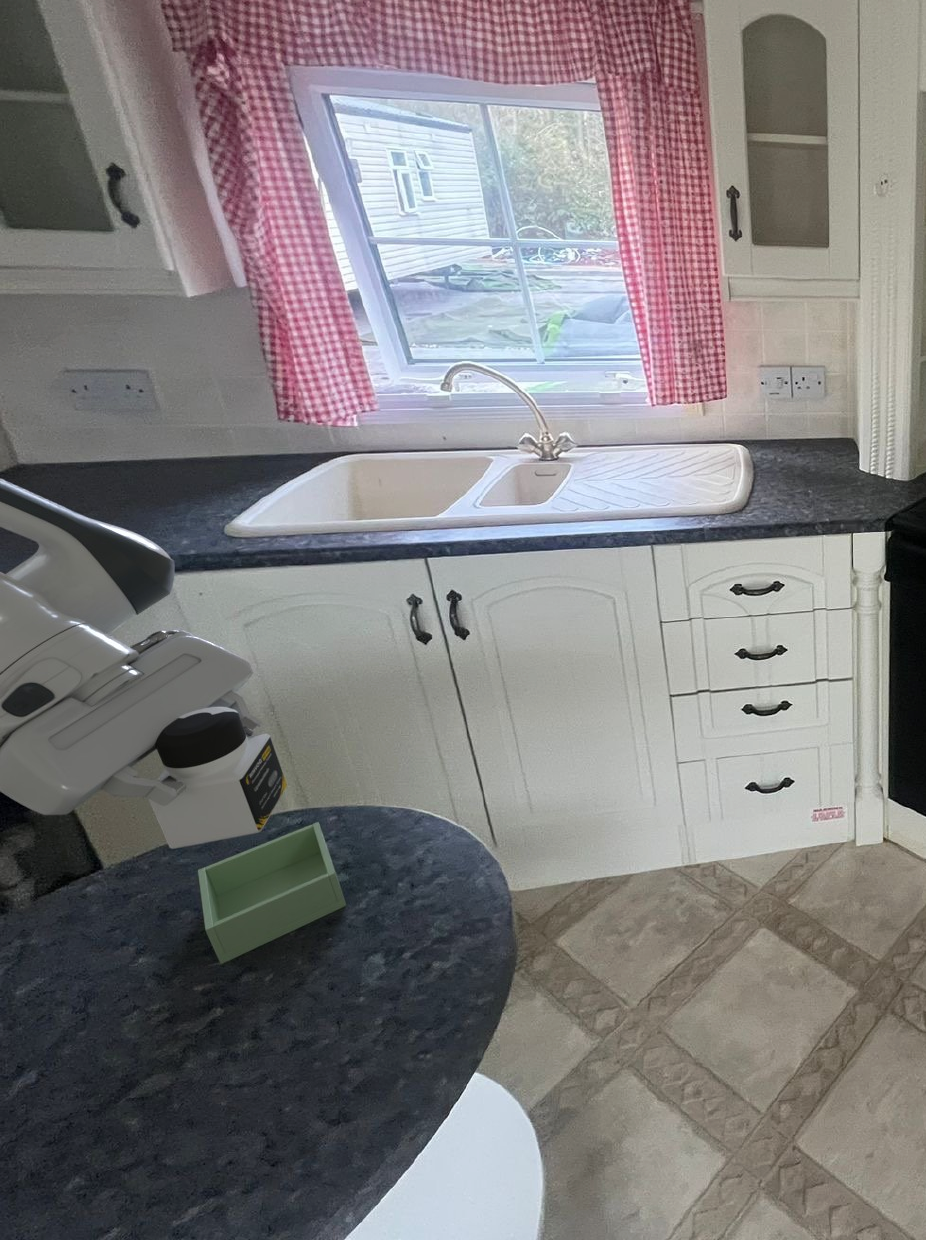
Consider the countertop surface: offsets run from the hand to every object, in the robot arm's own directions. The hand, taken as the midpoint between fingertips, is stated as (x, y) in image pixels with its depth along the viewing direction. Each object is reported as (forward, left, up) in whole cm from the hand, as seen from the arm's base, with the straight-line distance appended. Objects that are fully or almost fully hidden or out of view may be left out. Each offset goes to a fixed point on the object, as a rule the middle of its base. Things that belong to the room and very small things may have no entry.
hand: (218, 763), depth 76 cm
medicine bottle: (0, +1, -7) cm, 7 cm away
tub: (0, +5, -23) cm, 24 cm away
